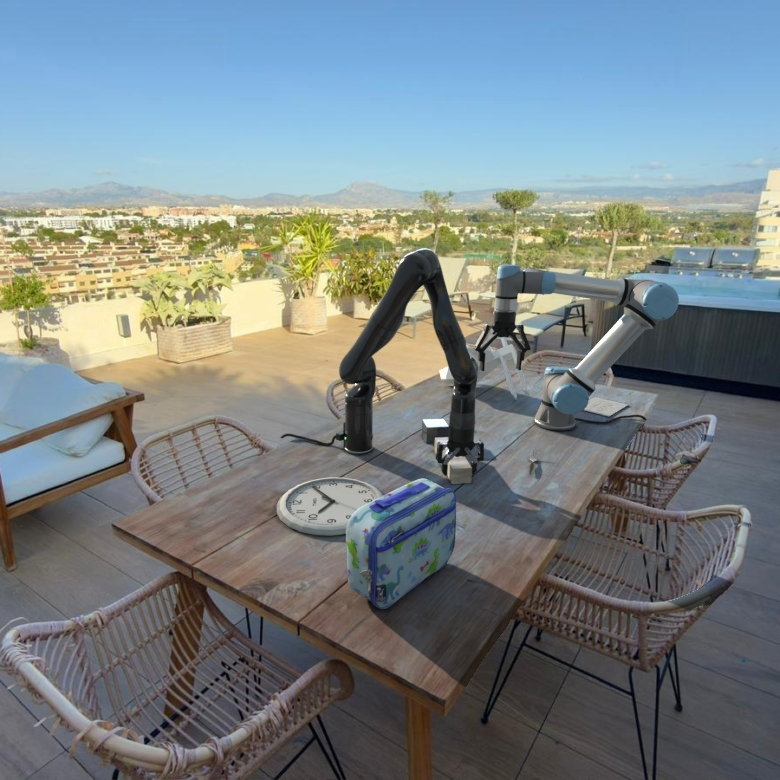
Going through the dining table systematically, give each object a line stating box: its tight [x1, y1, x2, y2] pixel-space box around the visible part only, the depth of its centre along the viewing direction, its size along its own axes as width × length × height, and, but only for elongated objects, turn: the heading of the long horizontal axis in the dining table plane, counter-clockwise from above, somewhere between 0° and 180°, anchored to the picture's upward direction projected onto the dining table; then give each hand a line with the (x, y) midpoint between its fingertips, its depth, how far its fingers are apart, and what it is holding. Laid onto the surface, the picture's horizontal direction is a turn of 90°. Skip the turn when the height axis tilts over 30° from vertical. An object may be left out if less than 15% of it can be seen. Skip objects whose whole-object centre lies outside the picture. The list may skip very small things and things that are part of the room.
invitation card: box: [583, 396, 629, 418], centre depth 226 cm, size 21×1×15 cm
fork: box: [529, 450, 539, 475], centre depth 168 cm, size 3×16×2 cm, turn 160°
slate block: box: [421, 418, 449, 444], centre depth 188 cm, size 8×8×6 cm
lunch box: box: [345, 477, 457, 610], centre depth 110 cm, size 26×11×21 cm, turn 134°
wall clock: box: [276, 476, 385, 537], centre depth 142 cm, size 30×2×30 cm
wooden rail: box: [434, 437, 473, 485], centre depth 167 cm, size 24×6×5 cm, turn 8°
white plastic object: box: [438, 311, 531, 400], centre depth 245 cm, size 37×45×31 cm
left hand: (458, 473), depth 159 cm, fingers open, 8 cm apart
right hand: (500, 369), depth 187 cm, fingers open, 13 cm apart
